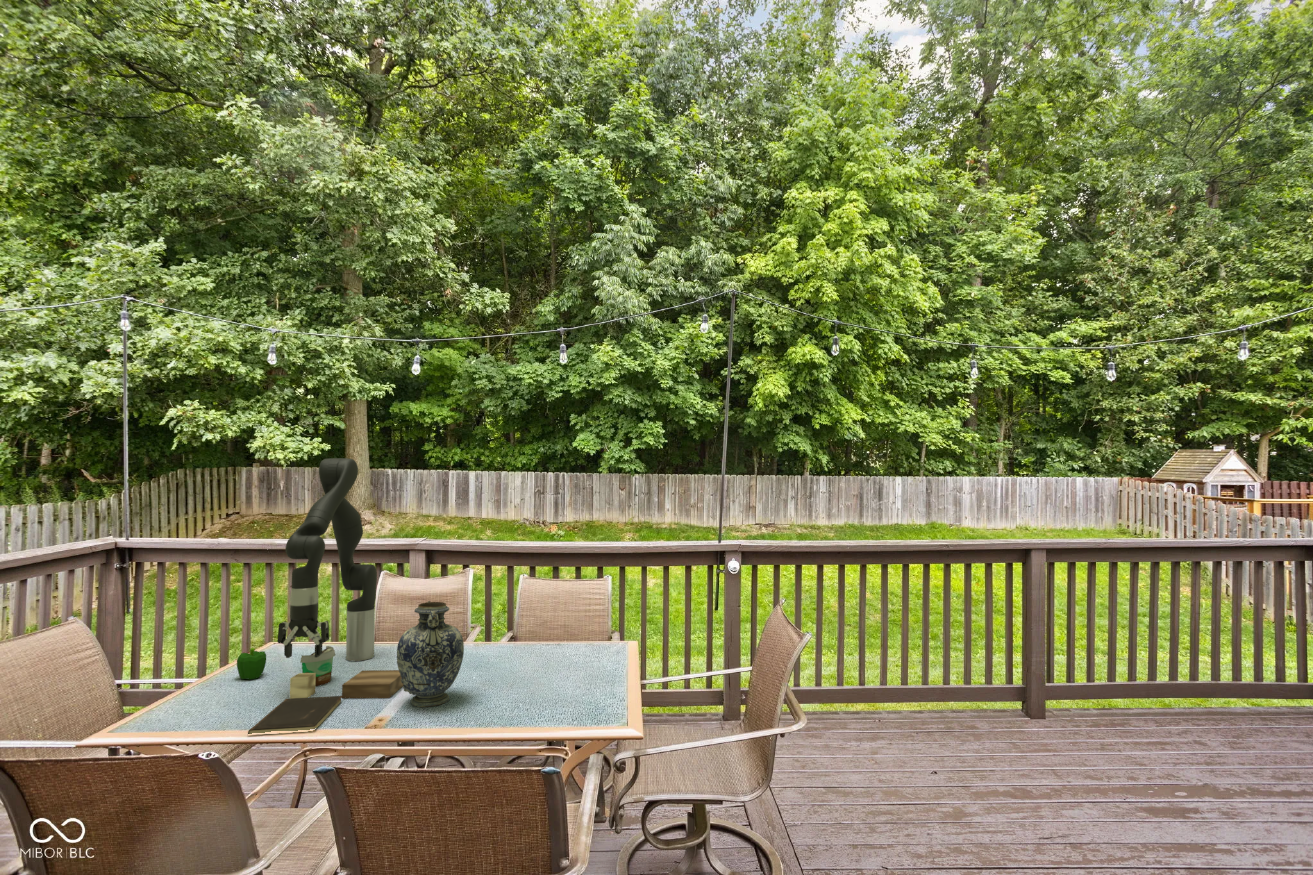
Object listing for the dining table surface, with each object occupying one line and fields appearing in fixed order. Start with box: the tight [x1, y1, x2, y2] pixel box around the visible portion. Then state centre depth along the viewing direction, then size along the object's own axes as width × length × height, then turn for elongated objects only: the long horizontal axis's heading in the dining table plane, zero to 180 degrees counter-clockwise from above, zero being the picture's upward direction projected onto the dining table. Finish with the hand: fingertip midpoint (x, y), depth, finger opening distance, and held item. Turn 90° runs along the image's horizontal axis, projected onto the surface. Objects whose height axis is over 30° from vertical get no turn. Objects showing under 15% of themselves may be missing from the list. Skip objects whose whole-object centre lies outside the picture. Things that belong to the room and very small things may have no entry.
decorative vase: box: [396, 600, 465, 708], centre depth 196 cm, size 21×19×28 cm
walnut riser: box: [341, 669, 403, 700], centre depth 205 cm, size 14×14×4 cm
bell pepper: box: [236, 647, 267, 681], centre depth 218 cm, size 8×8×10 cm
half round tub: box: [300, 645, 336, 687], centre depth 213 cm, size 12×6×10 cm, turn 168°
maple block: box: [289, 672, 316, 699], centre depth 200 cm, size 5×5×6 cm
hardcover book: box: [247, 695, 343, 735], centre depth 183 cm, size 16×23×2 cm
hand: (303, 657), depth 201 cm, fingers open, 8 cm apart
